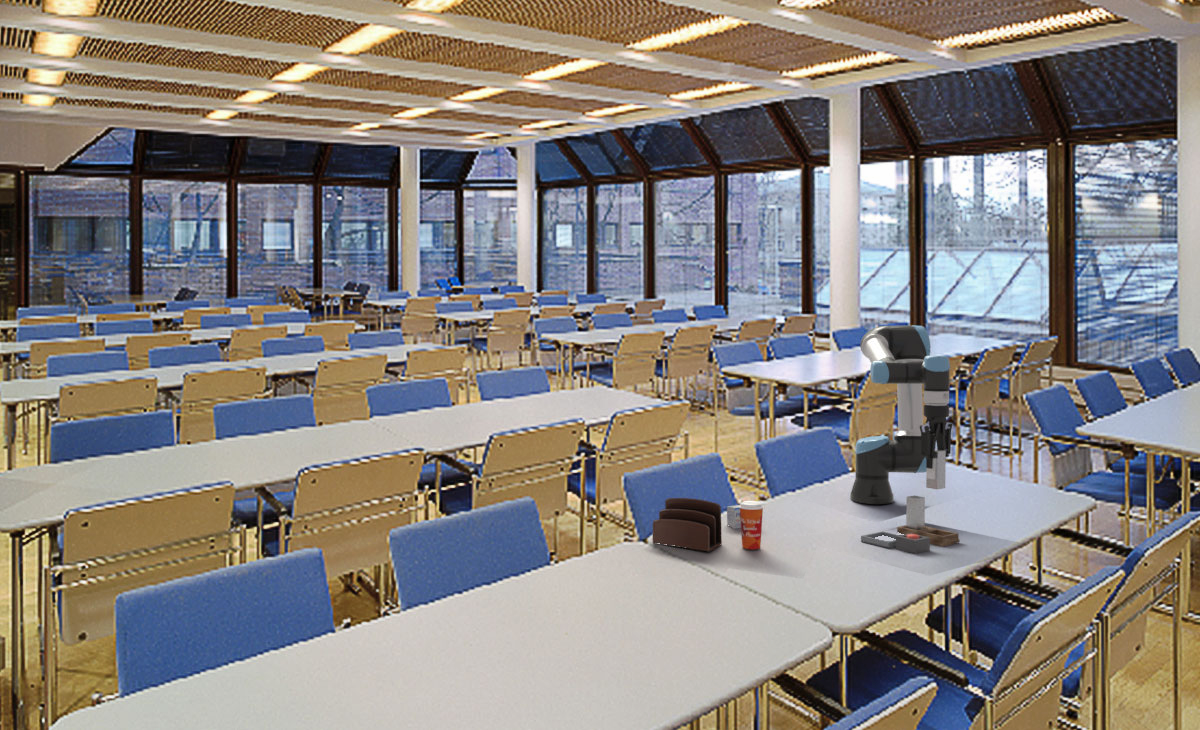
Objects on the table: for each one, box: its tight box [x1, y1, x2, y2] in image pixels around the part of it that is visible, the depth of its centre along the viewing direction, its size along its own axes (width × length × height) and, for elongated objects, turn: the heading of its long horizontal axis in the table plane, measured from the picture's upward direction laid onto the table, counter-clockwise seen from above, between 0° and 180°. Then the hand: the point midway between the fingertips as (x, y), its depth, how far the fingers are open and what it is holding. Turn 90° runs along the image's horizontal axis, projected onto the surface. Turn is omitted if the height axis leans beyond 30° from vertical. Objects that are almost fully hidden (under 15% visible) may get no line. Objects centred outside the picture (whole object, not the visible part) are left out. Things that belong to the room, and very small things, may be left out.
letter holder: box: [652, 497, 723, 552], centre depth 273 cm, size 10×20×14 cm, turn 59°
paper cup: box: [738, 500, 765, 550], centre depth 269 cm, size 8×8×14 cm
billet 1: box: [905, 495, 926, 530], centre depth 281 cm, size 4×4×12 cm
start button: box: [907, 534, 919, 539], centre depth 264 cm, size 4×4×2 cm
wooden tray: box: [896, 524, 961, 548], centre depth 277 cm, size 17×9×3 cm, turn 34°
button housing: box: [895, 533, 931, 555], centre depth 264 cm, size 7×7×4 cm
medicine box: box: [726, 504, 741, 529], centre depth 290 cm, size 8×4×9 cm, turn 118°
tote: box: [860, 530, 899, 549], centre depth 273 cm, size 11×11×2 cm
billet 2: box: [925, 448, 947, 490], centre depth 272 cm, size 4×4×12 cm
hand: (935, 477), depth 273 cm, fingers closed on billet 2, 4 cm apart
